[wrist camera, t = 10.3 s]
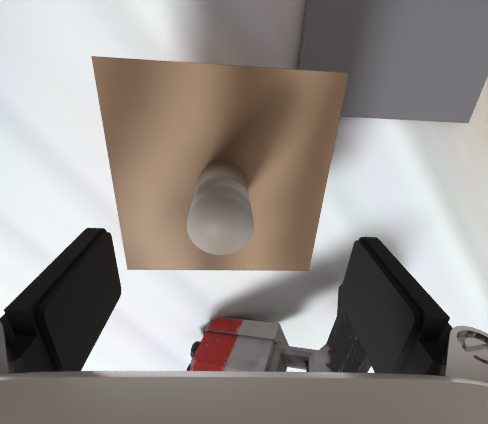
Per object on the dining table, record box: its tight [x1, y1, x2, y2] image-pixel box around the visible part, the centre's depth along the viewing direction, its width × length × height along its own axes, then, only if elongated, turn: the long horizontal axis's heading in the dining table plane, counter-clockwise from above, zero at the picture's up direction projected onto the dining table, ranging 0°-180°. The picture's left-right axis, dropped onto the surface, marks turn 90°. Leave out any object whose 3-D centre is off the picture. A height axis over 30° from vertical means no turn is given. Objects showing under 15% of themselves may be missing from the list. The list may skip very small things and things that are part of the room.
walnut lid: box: [92, 56, 349, 271], centre depth 16 cm, size 14×14×6 cm
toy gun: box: [187, 285, 371, 373], centre depth 31 cm, size 5×22×15 cm, turn 110°
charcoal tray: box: [297, 0, 488, 123], centre depth 20 cm, size 16×16×1 cm
